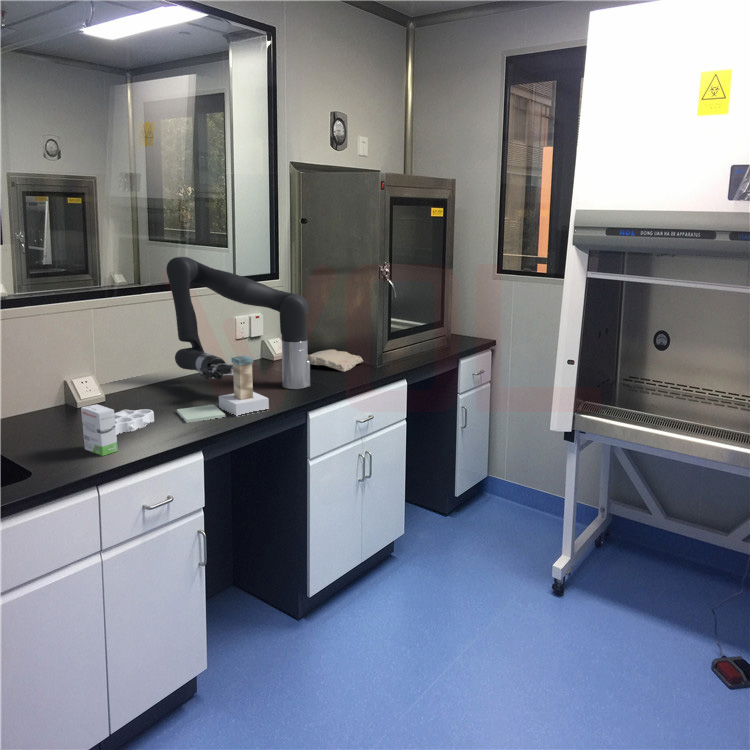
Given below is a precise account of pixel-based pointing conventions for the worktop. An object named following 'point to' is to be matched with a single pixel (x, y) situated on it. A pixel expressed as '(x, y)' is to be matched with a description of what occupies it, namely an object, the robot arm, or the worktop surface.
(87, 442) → the ink box
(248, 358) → the plug
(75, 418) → the worktop surface
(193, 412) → the pad
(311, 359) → the flat sandstone piece
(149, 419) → the white multi-hole tray
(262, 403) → the white square stand
